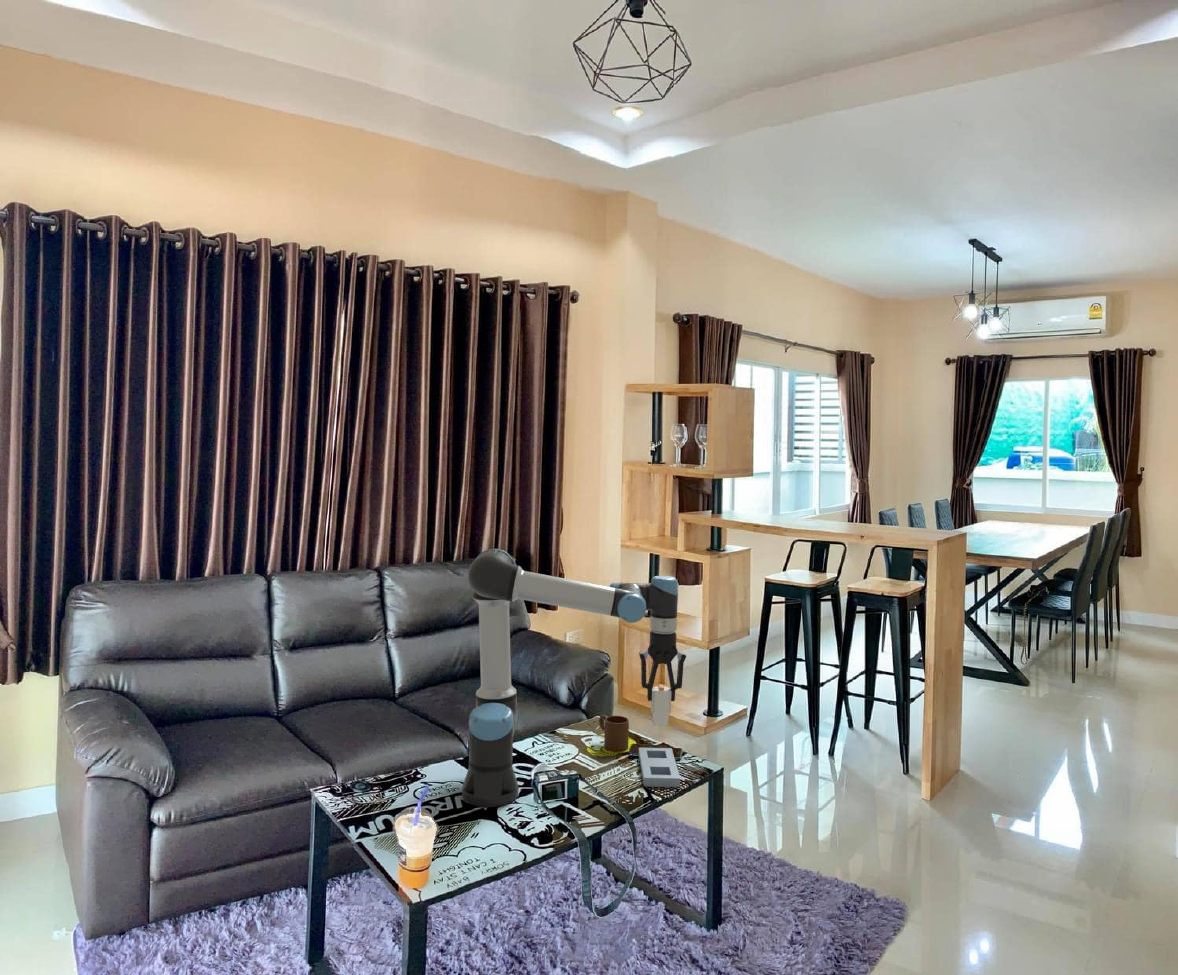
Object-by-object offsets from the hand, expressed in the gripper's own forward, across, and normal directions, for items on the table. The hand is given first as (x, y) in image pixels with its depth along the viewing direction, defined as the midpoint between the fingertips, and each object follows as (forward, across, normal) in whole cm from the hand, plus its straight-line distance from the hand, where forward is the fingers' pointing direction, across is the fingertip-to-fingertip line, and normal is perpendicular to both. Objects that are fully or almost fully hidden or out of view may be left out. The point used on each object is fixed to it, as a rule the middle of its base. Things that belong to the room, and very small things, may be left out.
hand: (660, 711), depth 231 cm
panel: (+19, 0, +4) cm, 20 cm away
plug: (+3, 0, 0) cm, 3 cm away
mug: (+20, -12, +23) cm, 33 cm away
